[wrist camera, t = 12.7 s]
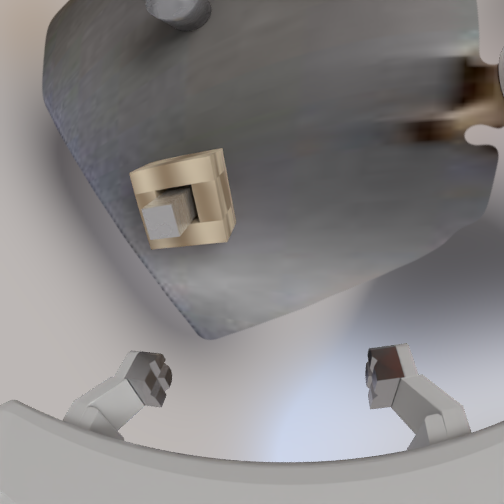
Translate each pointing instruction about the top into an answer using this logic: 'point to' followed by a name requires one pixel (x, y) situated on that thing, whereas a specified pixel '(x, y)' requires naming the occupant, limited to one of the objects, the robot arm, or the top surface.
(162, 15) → the round bit
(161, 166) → the socket block
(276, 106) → the top surface
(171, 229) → the square bit
